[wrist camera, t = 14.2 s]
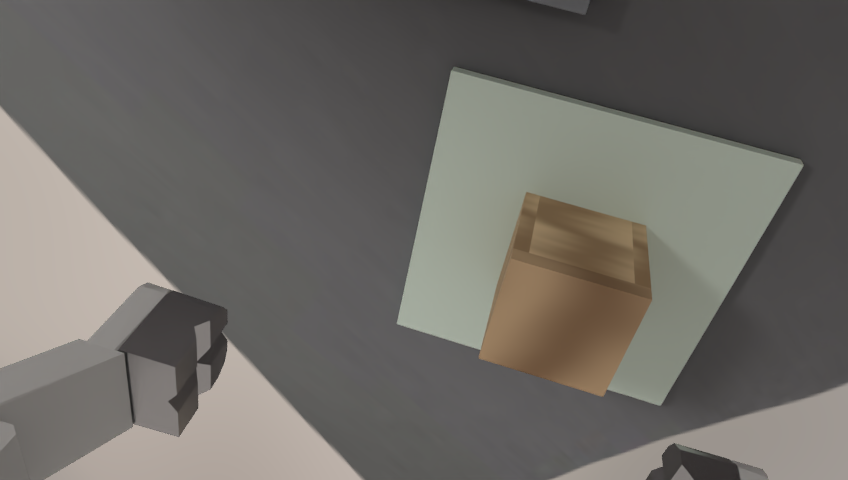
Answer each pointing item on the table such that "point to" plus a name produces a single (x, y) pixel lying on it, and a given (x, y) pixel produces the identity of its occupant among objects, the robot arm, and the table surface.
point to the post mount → (567, 5)
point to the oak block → (568, 294)
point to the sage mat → (595, 190)
